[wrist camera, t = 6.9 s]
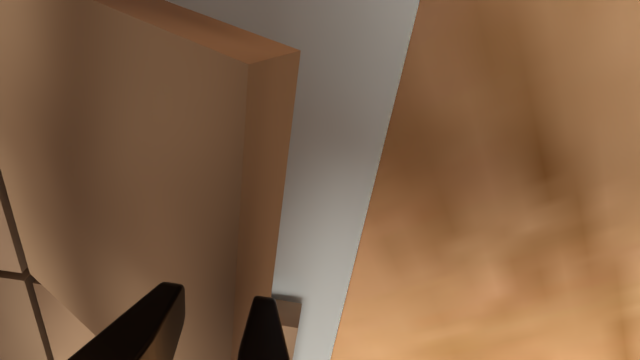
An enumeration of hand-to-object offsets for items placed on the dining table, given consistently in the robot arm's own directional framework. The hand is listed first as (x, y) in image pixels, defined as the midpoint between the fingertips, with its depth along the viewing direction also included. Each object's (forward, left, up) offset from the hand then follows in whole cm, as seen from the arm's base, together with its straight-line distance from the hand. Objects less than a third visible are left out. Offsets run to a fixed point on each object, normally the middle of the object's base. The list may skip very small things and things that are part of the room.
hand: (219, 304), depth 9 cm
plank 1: (+3, +1, -4) cm, 5 cm away
